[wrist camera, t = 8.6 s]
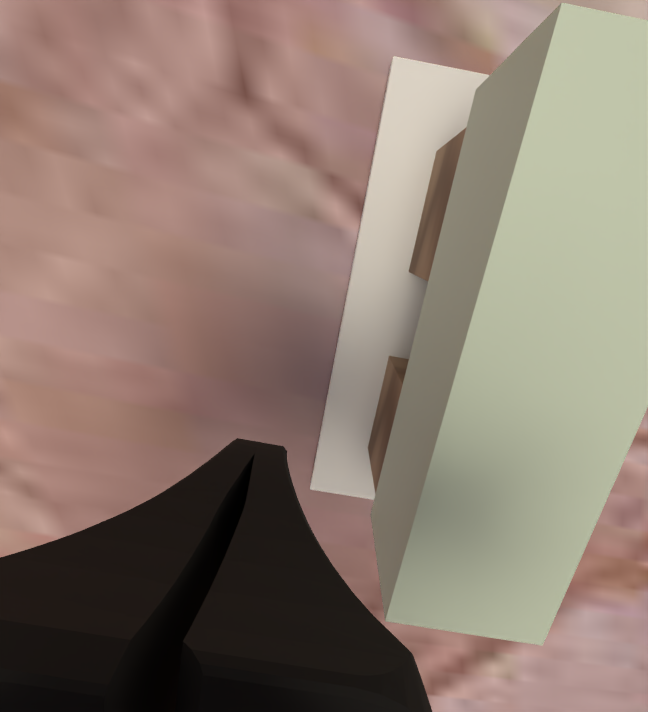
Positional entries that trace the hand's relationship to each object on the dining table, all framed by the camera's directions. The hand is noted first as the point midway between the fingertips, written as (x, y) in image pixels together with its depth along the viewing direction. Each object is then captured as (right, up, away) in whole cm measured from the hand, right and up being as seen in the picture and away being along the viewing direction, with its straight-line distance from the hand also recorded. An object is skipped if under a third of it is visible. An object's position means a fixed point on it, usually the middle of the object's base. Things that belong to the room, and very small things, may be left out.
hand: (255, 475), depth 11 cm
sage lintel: (+8, +4, +5) cm, 10 cm away
